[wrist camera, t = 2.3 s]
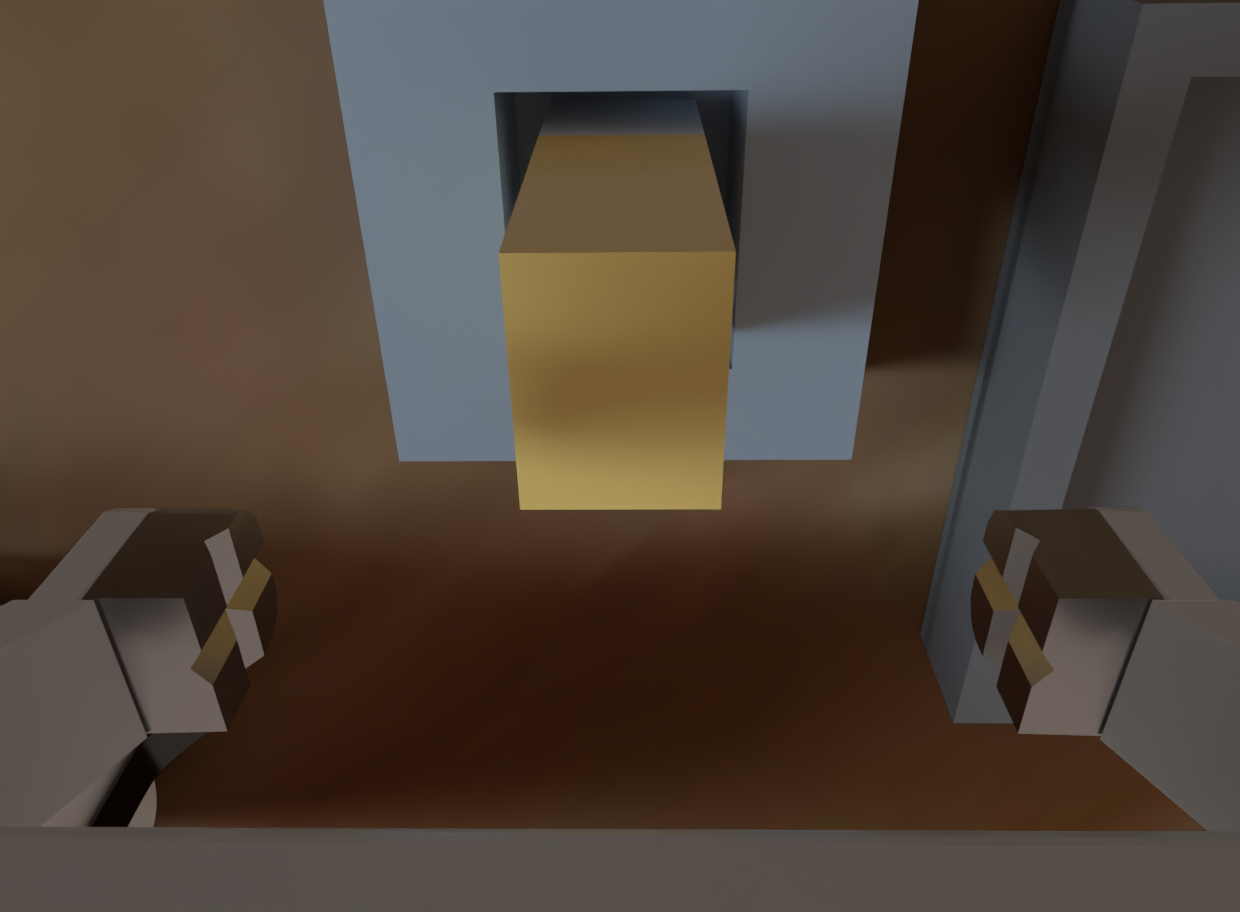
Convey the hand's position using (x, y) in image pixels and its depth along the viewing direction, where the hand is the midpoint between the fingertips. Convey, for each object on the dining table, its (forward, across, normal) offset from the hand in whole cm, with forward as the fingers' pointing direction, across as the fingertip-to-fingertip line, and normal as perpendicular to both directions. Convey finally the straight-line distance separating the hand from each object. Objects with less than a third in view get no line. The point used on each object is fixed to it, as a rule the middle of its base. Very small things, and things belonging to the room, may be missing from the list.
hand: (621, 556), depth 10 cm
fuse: (+12, 0, -1) cm, 12 cm away
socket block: (+13, 0, -1) cm, 13 cm away
